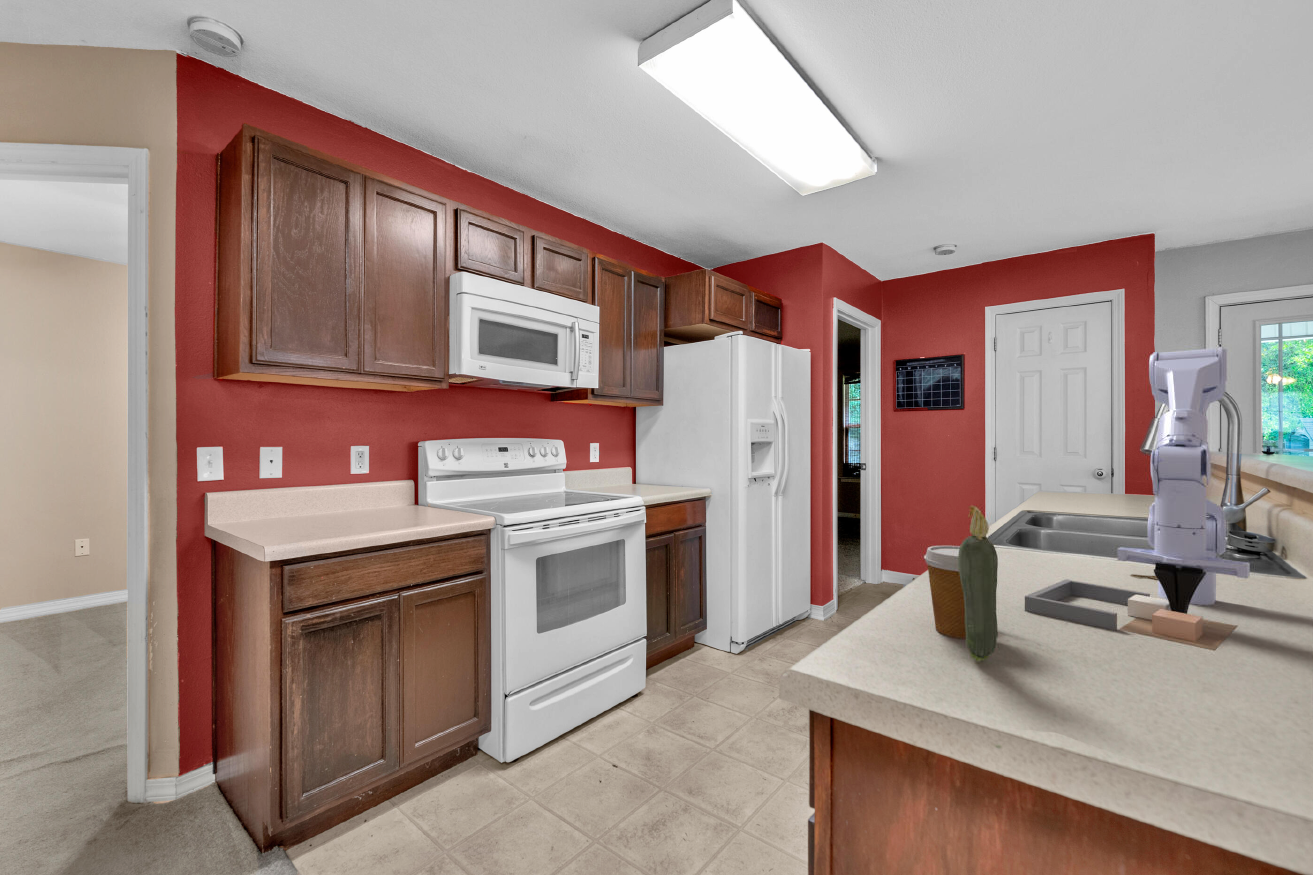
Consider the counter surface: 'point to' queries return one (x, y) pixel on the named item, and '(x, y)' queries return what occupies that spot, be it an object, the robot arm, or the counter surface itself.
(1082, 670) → the counter surface
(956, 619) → the disposable coffee cup
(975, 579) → the vegetable
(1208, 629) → the walnut plate
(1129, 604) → the cream tile
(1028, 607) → the tray
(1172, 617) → the terracotta tile
